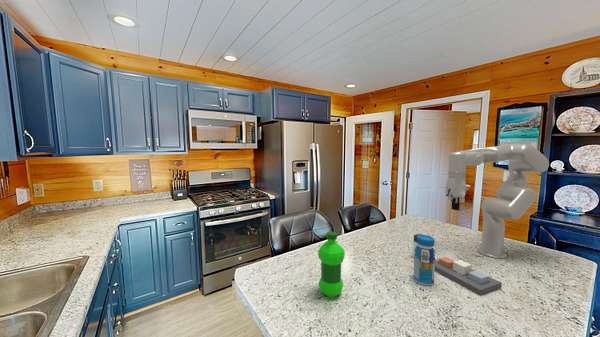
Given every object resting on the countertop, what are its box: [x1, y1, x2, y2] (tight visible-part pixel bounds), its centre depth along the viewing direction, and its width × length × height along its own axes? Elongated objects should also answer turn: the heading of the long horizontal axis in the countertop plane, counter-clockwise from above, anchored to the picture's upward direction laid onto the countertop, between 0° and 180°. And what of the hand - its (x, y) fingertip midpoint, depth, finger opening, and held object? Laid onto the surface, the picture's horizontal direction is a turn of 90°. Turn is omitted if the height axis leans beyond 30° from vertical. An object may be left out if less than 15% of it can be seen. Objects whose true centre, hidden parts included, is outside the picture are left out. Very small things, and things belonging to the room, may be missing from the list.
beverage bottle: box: [412, 234, 437, 286], centre depth 102 cm, size 8×8×20 cm
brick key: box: [438, 256, 455, 269], centre depth 112 cm, size 5×5×4 cm
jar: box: [411, 233, 423, 259], centre depth 123 cm, size 9×8×12 cm
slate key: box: [468, 270, 490, 285], centre depth 99 cm, size 5×5×4 cm
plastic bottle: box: [317, 231, 346, 298], centre depth 93 cm, size 10×10×25 cm
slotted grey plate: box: [434, 259, 503, 296], centre depth 106 cm, size 14×24×2 cm, turn 21°
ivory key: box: [453, 259, 472, 276], centre depth 105 cm, size 5×5×4 cm
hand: (455, 209), depth 122 cm, fingers closed
